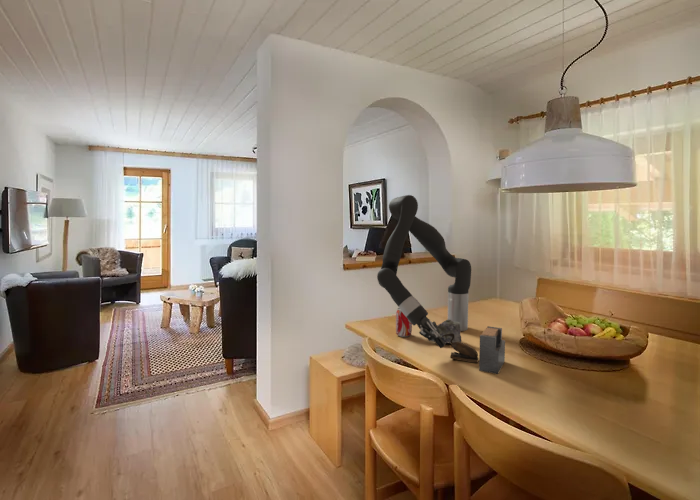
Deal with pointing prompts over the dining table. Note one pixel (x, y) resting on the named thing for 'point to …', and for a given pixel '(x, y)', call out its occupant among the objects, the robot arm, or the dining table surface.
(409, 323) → the soda can
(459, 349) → the figurine
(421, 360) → the dining table surface
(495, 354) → the bracket
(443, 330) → the mineral rock
